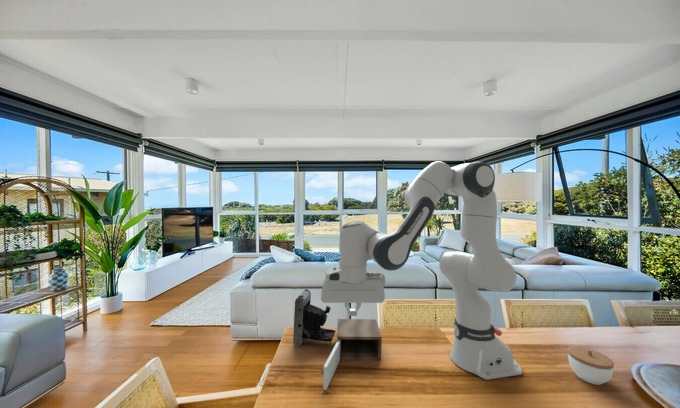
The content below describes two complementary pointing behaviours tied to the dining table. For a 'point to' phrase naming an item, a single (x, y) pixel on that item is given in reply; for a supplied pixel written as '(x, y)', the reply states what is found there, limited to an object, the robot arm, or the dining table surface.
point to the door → (331, 365)
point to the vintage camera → (310, 321)
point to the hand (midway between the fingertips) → (352, 315)
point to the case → (359, 339)
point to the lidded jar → (590, 365)
